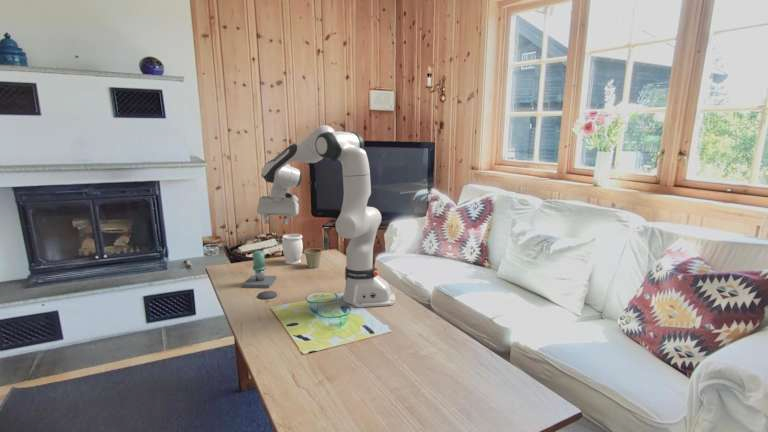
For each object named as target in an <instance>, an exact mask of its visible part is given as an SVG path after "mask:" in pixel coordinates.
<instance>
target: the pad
mask: <svg viewBox="0 0 768 432" xmlns="http://www.w3.org/2000/svg"><path fill="white" fill-rule="evenodd" d="M277 296H278V293H277V292H276V291H273V290H264V291H261V292H259V293H257V298H258V299H260V300H270V299H274V298H277Z"/></svg>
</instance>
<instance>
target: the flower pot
mask: <svg viewBox="0 0 768 432" xmlns="http://www.w3.org/2000/svg"><path fill="white" fill-rule="evenodd" d="M322 251H323V249H321V248H317V247H316V248H315V247H314V248H313V247H312V248H307V249H305V250H303V253H304V255H305V260H306V266H307V268H308V269H313V268H315V269H317V268H319V267H320V263H321V255H322Z"/></svg>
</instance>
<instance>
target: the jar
mask: <svg viewBox="0 0 768 432" xmlns="http://www.w3.org/2000/svg"><path fill="white" fill-rule="evenodd" d="M302 239H303V235H302V234H300V233H287V234H284V235H282V250H283V256H284V259H285V261H284V262H285V264H286V265H294V266H295V265H298V264H301V263H302V260H301V258H302V256H303V252H304V250H303V249H304V248H303V247H304V246H303V240H302Z"/></svg>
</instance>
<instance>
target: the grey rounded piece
mask: <svg viewBox="0 0 768 432" xmlns="http://www.w3.org/2000/svg"><path fill="white" fill-rule="evenodd" d="M254 275H255V281H264V276H265V270H261V271H255V270H254Z"/></svg>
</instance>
